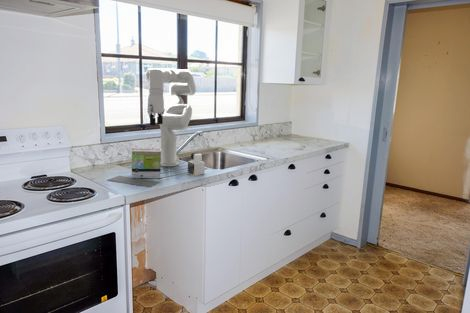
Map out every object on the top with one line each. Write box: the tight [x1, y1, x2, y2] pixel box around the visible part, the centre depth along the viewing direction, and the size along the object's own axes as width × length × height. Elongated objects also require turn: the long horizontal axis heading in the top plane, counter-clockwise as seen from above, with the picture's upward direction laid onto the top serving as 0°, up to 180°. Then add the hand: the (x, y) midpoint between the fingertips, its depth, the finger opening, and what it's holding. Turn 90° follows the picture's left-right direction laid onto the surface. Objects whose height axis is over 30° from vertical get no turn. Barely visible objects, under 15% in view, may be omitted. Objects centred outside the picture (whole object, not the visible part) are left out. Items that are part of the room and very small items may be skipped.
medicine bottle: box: [187, 152, 206, 176], centre depth 208 cm, size 7×7×12 cm
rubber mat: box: [106, 175, 162, 188], centre depth 189 cm, size 10×26×1 cm, turn 70°
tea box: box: [131, 147, 162, 179], centre depth 198 cm, size 15×10×15 cm, turn 106°
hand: (156, 124), depth 203 cm, fingers open, 6 cm apart
